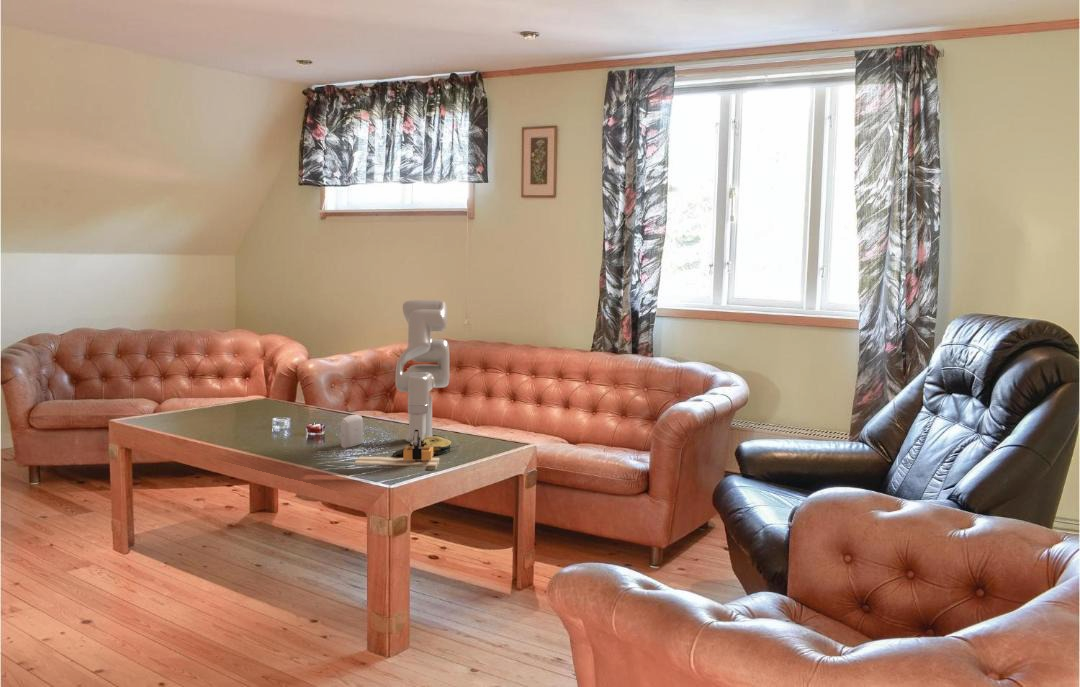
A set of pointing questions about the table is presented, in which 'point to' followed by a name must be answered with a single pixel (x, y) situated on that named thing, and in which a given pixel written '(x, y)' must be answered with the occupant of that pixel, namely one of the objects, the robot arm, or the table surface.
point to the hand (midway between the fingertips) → (418, 456)
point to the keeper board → (397, 461)
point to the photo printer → (351, 431)
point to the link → (425, 454)
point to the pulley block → (432, 445)
